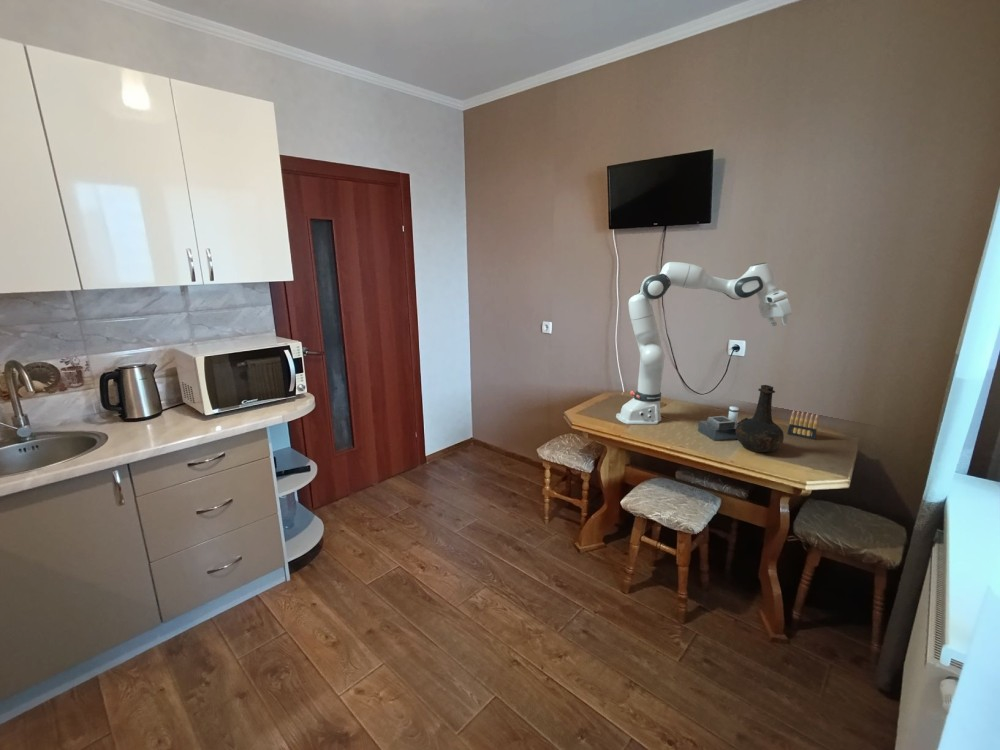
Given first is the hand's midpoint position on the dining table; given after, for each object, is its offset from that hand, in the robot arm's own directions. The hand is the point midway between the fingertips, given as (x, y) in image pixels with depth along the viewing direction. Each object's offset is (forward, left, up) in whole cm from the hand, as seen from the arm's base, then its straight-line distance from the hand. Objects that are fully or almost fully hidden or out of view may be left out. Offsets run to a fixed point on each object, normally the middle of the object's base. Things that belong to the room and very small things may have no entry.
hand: (779, 325), depth 198 cm
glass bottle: (-21, -21, -49) cm, 58 cm away
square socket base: (-27, -4, -49) cm, 56 cm away
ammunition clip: (+8, -13, -49) cm, 52 cm away
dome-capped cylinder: (-13, +6, -49) cm, 51 cm away
